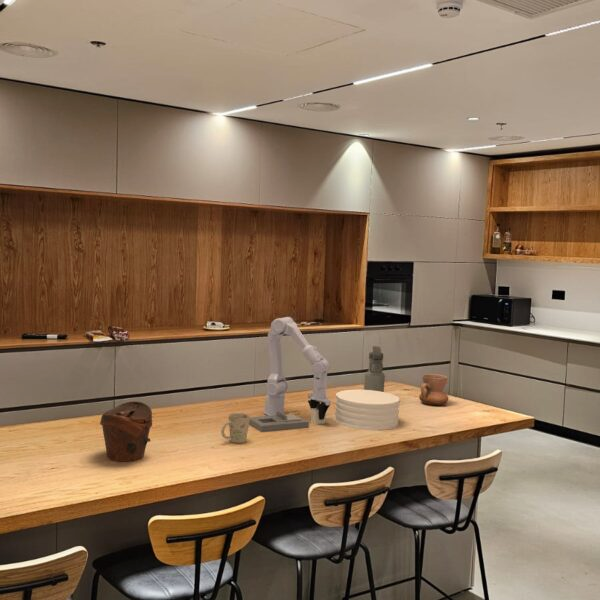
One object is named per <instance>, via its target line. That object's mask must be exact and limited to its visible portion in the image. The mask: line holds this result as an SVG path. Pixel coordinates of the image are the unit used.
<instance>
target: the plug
mask: <svg viewBox="0 0 600 600" xmlns="http://www.w3.org/2000/svg"><path fill="white" fill-rule="evenodd" d="M326 414H327V413H326ZM326 414H325V417H324V419H323V420H319V410H318V406H317V408H310V422H311V423H312V424H314V425H320V424H326V416H327V415H326Z"/></svg>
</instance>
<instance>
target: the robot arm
mask: <svg viewBox="0 0 600 600" xmlns="http://www.w3.org/2000/svg"><path fill="white" fill-rule="evenodd" d="M284 335H287V336H291V337H292V339H294V341H295V342H296V343H297V344H298V345H299V346H300V347H301V348H302V354H303V355H304V357H305V358H306V360H307V361H308V362H309V363H310V365H311V370H312V372H313V383H312V385H313V386H312V393H307V399H309V400H307V403H308V405H309V407H310V409H311V408H317V406H318V410H319V420H323V419H324V417H325V418H326V416H325V414H327V411H328V409H329V408H330V406H331V403H332V401H331V400H330V399H329V398H327V382H328V372H329V370H330V367H331V366H330V362H329V360H328V359H326V358H324V356H323V355H322V354H320V352H319V351H318V348H317V346H315V345H313V344H310V343H309V342H308V340H307V339H306V338H305V336H304V335H303V334H302V332H301V330H300V329H299V327H298V324H297V323H296V321H294V319H293V318H292V317H291V316H285V317H281V318H280V317H277V318H276V319H274V320H272V322H270V329H269V331H268V332H267V342H268V345H267V346H268V359H269V362H268V363H269V373H270V374H269V376H268V378H267V385H266V388H265V391H266V393H267V394H266V395H265V399H264V410H262V413H263V414H265V416H272V415H276V412H280V413H282V414H285V413H284V412H285V398H286V397H285V394H286V391H287V390H288V382H287V380H286V376H285V375H284V373H283V364H282V362H283V361H282V349H281V348H282V347H281V339H282V337H283V336H284Z"/></svg>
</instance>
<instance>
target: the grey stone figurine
mask: <svg viewBox="0 0 600 600" xmlns="http://www.w3.org/2000/svg"><path fill="white" fill-rule="evenodd" d="M383 361H384V353H382V350H381V347H380V346H377V345H375V346H372V351H369V353H368V370H367V371H365V374H364V384H363V386H364V387H363V390H373V391H381V392H384V391H385V380H386V379H385V377H386V376H385V373H384V372H383V369H384V367H383V366H384V364H383Z"/></svg>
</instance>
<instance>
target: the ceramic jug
mask: <svg viewBox="0 0 600 600" xmlns="http://www.w3.org/2000/svg"><path fill="white" fill-rule="evenodd" d="M422 382H423V383H421V385H420V394H419V395H418V397H419V398H418V399H419V400H420V401H421V402H422V403H424V404H426V405H431V406H443V405H445V404H447V403H448V401H449V396H448V394H447V393H445V392H444V389H445V387H446V385H447V384H448V376H446V375H443V374H436V373H427V374H423V375H422Z"/></svg>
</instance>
